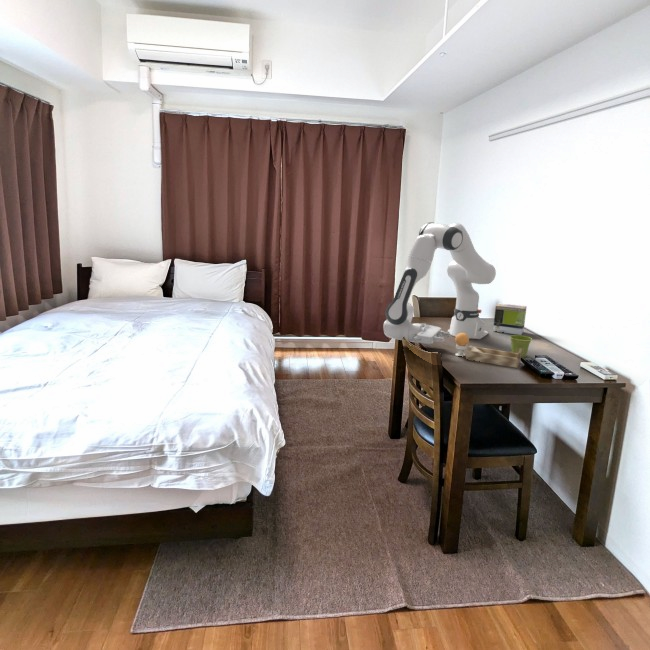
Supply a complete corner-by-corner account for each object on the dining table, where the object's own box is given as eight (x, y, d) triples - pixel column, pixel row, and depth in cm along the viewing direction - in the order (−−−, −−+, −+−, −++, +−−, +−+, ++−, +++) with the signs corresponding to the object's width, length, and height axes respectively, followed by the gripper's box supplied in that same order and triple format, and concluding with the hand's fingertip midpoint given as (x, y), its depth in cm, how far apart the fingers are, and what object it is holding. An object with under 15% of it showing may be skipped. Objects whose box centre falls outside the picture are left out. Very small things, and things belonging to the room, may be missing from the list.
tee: (454, 356, 216) (455, 345, 215) (456, 353, 220) (457, 343, 219) (464, 357, 214) (465, 346, 213) (466, 355, 218) (467, 344, 217)
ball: (458, 343, 220) (460, 330, 219) (470, 346, 216) (472, 333, 214) (451, 345, 216) (453, 332, 214) (463, 348, 212) (465, 335, 210)
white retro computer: (523, 331, 265) (527, 305, 262) (521, 335, 256) (525, 308, 253) (495, 327, 272) (498, 302, 268) (492, 331, 263) (495, 305, 260)
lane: (465, 359, 212) (467, 345, 210) (469, 354, 219) (470, 340, 218) (518, 368, 203) (520, 353, 201) (520, 362, 210) (522, 348, 209)
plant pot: (516, 359, 215) (519, 340, 213) (503, 353, 223) (505, 335, 221) (533, 358, 217) (536, 340, 215) (520, 352, 226) (522, 334, 224)
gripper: (411, 331, 214) (442, 335, 208) (423, 322, 232) (452, 326, 226) (410, 344, 215) (441, 349, 210) (422, 334, 233) (450, 339, 228)
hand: (447, 337), depth 218 cm, fingers open, 8 cm apart
